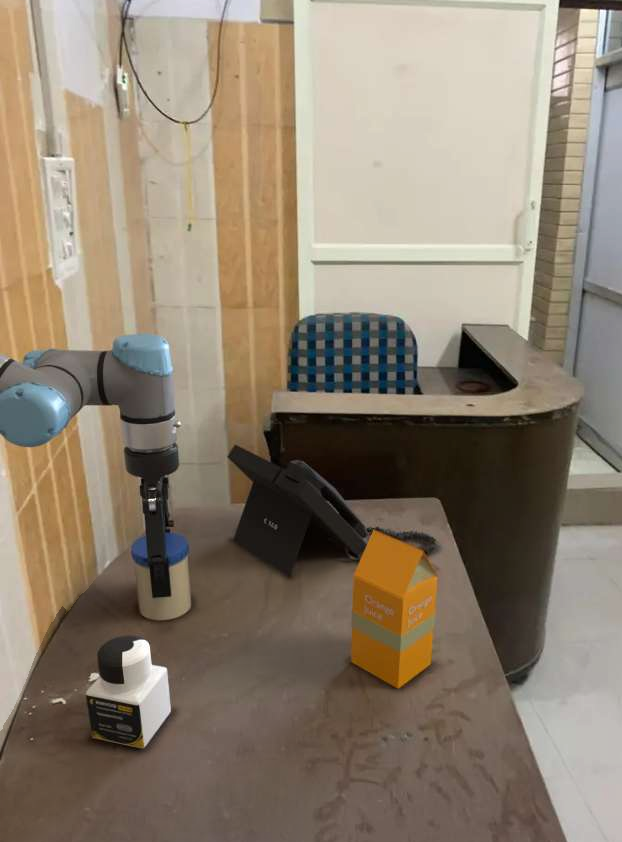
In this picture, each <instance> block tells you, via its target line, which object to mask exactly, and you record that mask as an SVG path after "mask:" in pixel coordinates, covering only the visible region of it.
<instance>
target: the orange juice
mask: <svg viewBox="0 0 622 842" xmlns="http://www.w3.org/2000/svg"><path fill="white" fill-rule="evenodd" d="M416 547H417V546H415V545H412V544H410V543H406V542H405V541H403V540H401V539H399V540H398V539H397V538H396V539H395V538H393V537H391V536H388V535H386V534H384V533H381V532H379V531H376V530H374V529H373V532H372V534H371V535H370V536H369V539H368V541H367V546H366V548H365V550H364V553H363V555H362V557H361V560H359V562H358V563H357V567H356V569H355V571H354V573H353V575H352V608H351V610H352V611H351V644H350V645H351V652H350V663H352V664H354V665H356V666H357V667H359V668H361V669H362V670H364V671H366V672H368V673H370V674H371V675H373V676H375V677H376V678H378V679H380V680H381V681H384V682H385V683H387V684H389V685H391V686H392V687H394V688H396V689H400V688H401V687H403V686H404V685H405V684H406V683H408V682H409V681H410V680H412V679H413V678H414V677H416V676H417V675H418V674H420V673H421V672H422V671H424V670H425V669H426V668H428V667H429V666H430V665H431V664H432V654H433V642H434V630H435V622H436V621H435V620H436V603H437V591H438V581H439V579H438V578H439V575H438V574H437V572H436V570H435V568H434V567H433V565H432V563H431V561H430V560H429V558H428V556H427V554H426V553H424V551H423V550H421V549H419V548H418V547H417V548H416Z"/></svg>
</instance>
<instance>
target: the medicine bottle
mask: <svg viewBox="0 0 622 842" xmlns="http://www.w3.org/2000/svg"><path fill="white" fill-rule="evenodd" d="M96 658H97V667H98V673H99V677H98V678H97V679H96V680H95V681H94V683H93V684H91V686H90V687H89V688H88V689H87V690H86V691H85V699H86V705H87V712H88V719H89V724H90V725H89V726H90V732H91V737H92V739H96V740H99V741H100V740H101V741H105V742H110V743H115V744H120V745H123V746H129V747H133V748H137V749H145V748H146V747H147V745H148V744H149V743H150V741H151V740H152V738H153V737H154V736H155V734H156V733H157V732H158V730H159V729H160V727H161V726H162V725H163V724H164V722H165V721H166V719H167V718H168V716H169V715H170V714H171V712H172V708H171V698H170V697H171V696H170V687H169V677H168V676H169V675H168V674H169V673H168V668H167V667H166V666H160V665H156V664H152V656H151V646H150V644H149V642H148V641H147V640H146V639H144V638H142V637H140V636H137V635H120V636H116V637H113V638H111V639H109V640H107V641H106V642H104V643H103V644H102V645H101V646H100V647H99V649H98V651H97V653H96Z"/></svg>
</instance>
